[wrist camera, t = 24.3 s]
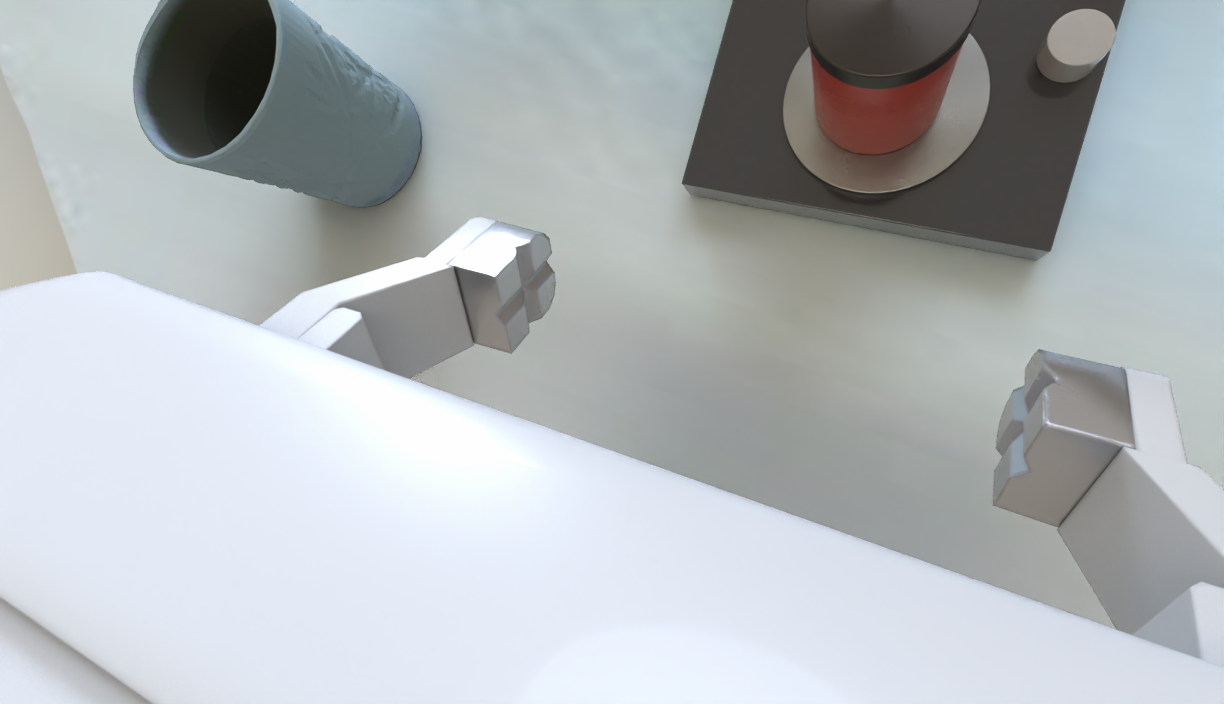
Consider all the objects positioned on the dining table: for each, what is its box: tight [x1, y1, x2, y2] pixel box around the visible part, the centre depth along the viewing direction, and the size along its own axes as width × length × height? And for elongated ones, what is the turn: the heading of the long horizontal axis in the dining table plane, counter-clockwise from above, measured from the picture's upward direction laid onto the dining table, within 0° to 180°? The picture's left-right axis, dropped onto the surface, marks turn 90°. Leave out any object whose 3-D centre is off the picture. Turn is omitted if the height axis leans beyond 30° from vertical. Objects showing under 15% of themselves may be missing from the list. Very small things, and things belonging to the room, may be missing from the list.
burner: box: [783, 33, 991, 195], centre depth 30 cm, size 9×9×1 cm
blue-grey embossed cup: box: [133, 0, 422, 207], centre depth 37 cm, size 10×10×12 cm
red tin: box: [805, 0, 981, 155], centre depth 26 cm, size 6×6×8 cm
